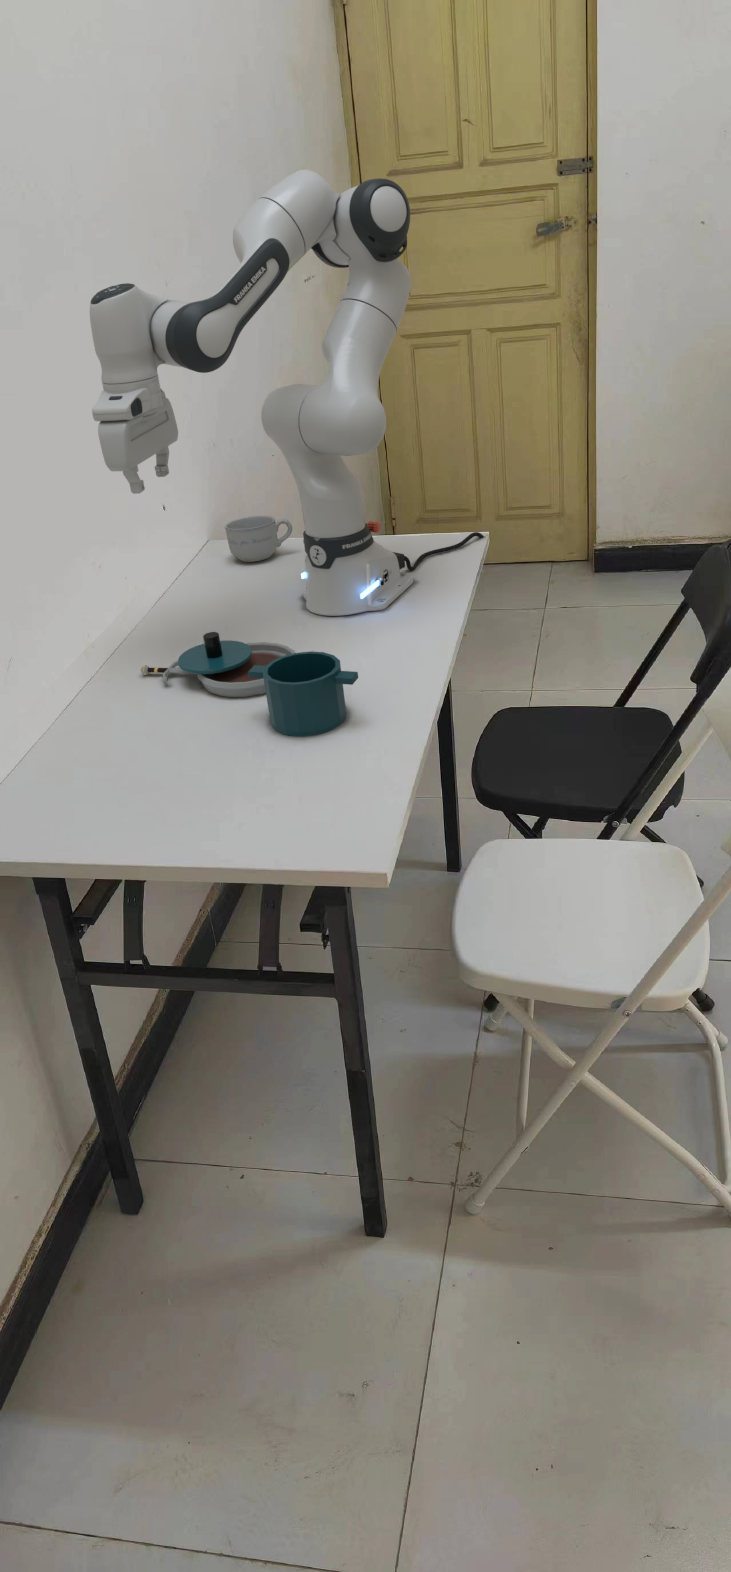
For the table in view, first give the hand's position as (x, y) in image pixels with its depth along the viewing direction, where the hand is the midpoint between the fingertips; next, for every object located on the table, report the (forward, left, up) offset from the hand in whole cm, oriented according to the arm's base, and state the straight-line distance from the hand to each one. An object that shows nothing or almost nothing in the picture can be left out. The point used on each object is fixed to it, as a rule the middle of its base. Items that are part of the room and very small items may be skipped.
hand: (151, 483), depth 184 cm
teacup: (-43, -18, -29) cm, 55 cm away
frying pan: (+7, +15, -29) cm, 34 cm away
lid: (+7, +15, -26) cm, 31 cm away
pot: (+13, +39, -29) cm, 50 cm away
